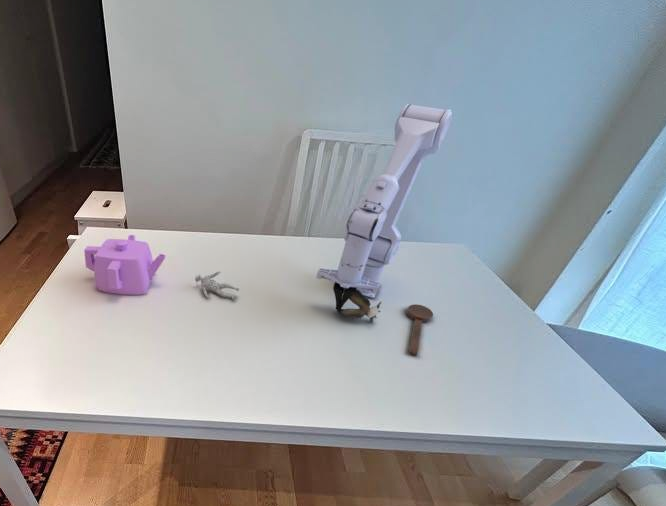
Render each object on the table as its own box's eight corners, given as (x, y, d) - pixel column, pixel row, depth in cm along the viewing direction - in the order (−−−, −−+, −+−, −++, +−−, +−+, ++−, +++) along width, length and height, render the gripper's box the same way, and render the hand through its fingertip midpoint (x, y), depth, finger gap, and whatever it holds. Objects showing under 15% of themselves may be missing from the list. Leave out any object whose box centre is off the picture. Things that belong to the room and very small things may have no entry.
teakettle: (85, 279, 109) (76, 238, 100) (137, 261, 117) (133, 222, 109) (114, 307, 99) (107, 265, 91) (169, 285, 107) (167, 245, 99)
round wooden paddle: (426, 359, 87) (428, 354, 86) (398, 350, 89) (400, 346, 88) (431, 312, 101) (433, 308, 100) (407, 306, 103) (409, 301, 102)
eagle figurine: (373, 308, 101) (342, 293, 101) (388, 296, 94) (354, 280, 94) (364, 332, 98) (332, 317, 99) (379, 322, 91) (344, 306, 92)
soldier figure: (228, 308, 101) (188, 287, 102) (227, 310, 106) (189, 290, 107) (242, 282, 101) (201, 261, 102) (241, 285, 106) (202, 265, 106)
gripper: (318, 260, 90) (306, 308, 99) (383, 277, 85) (364, 325, 94) (325, 248, 94) (314, 294, 103) (387, 263, 90) (369, 310, 99)
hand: (338, 308), depth 99 cm, fingers closed
